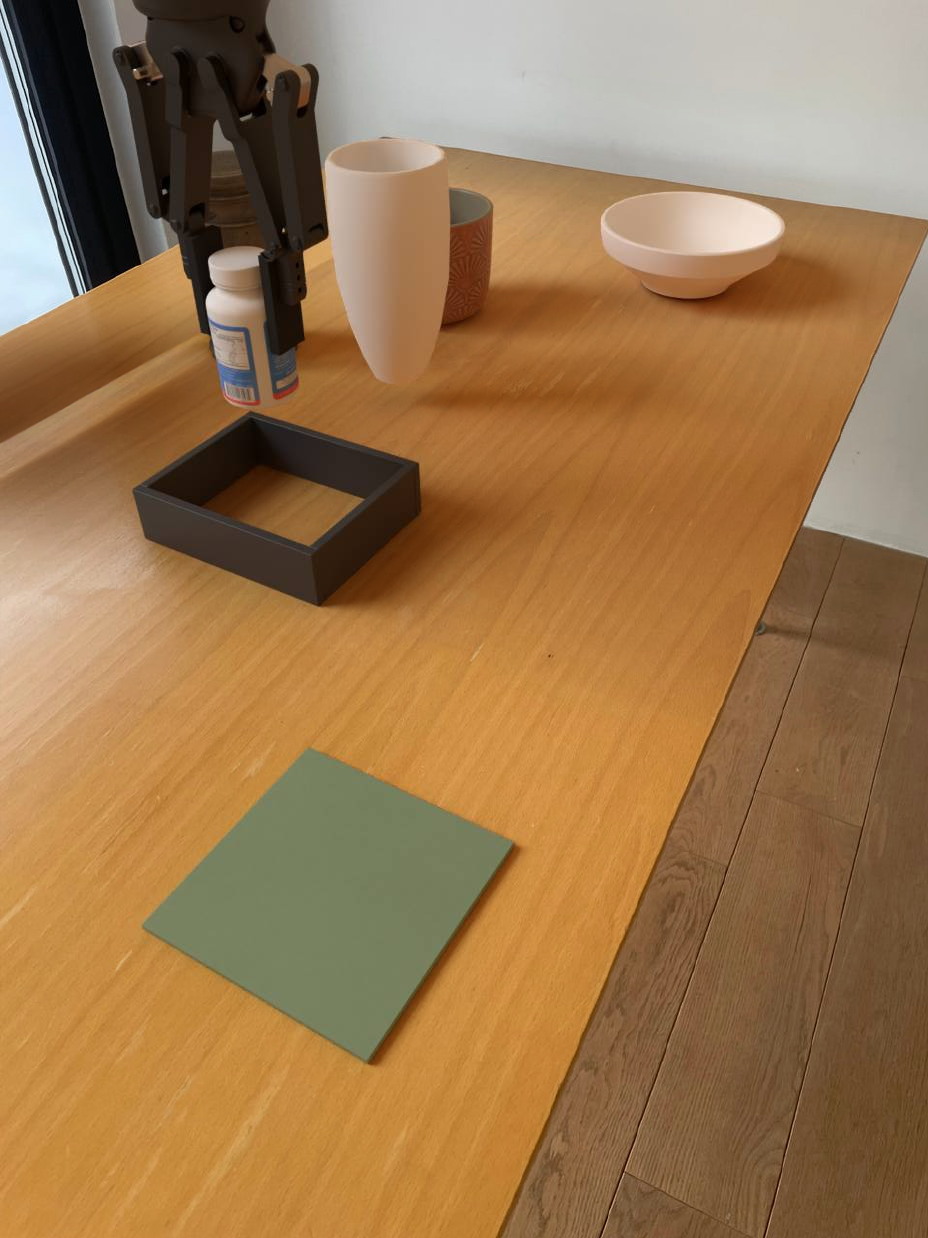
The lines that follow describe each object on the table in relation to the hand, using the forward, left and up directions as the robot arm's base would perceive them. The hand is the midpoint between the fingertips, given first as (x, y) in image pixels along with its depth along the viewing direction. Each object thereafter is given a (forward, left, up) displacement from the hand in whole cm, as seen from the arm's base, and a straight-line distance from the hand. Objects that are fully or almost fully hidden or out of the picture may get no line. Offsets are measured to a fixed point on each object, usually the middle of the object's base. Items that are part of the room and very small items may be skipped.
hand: (252, 335), depth 69 cm
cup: (-3, +21, -16) cm, 26 cm away
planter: (-11, +40, -16) cm, 44 cm away
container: (-22, +23, -16) cm, 35 cm away
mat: (+23, -25, -16) cm, 38 cm away
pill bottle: (0, 0, -5) cm, 5 cm away
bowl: (+10, +59, -16) cm, 62 cm away
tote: (0, 0, -16) cm, 16 cm away
